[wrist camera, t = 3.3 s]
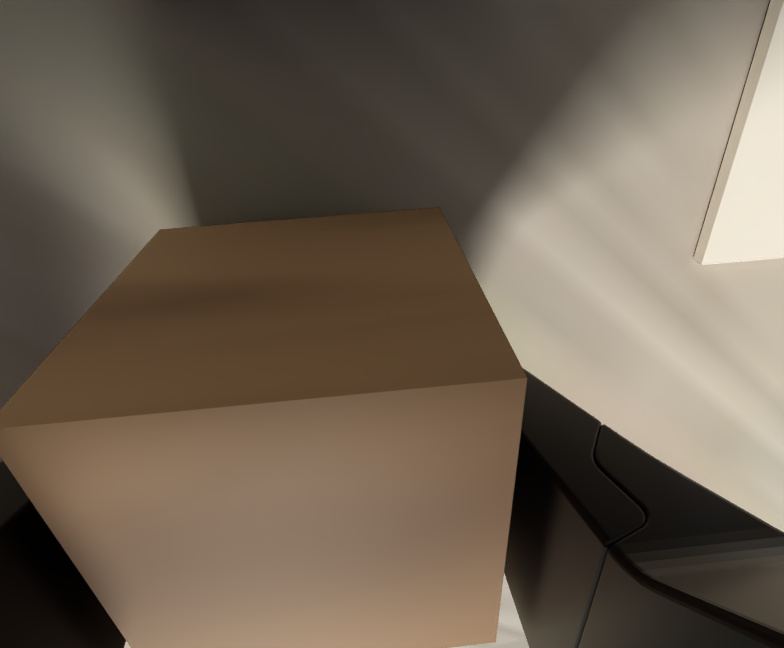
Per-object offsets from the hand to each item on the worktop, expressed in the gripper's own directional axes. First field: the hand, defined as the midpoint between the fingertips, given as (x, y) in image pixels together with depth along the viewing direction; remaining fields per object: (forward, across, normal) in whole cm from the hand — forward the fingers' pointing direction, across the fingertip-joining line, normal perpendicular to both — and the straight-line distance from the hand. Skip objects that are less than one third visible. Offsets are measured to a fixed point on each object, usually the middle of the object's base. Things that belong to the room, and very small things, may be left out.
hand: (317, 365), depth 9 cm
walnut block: (+1, 0, 0) cm, 1 cm away
